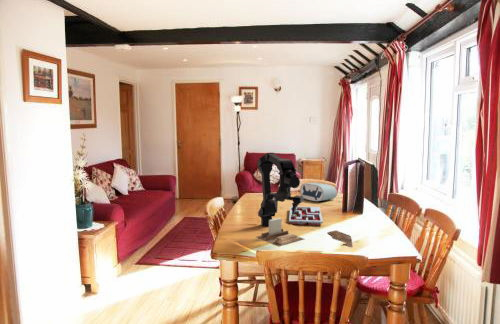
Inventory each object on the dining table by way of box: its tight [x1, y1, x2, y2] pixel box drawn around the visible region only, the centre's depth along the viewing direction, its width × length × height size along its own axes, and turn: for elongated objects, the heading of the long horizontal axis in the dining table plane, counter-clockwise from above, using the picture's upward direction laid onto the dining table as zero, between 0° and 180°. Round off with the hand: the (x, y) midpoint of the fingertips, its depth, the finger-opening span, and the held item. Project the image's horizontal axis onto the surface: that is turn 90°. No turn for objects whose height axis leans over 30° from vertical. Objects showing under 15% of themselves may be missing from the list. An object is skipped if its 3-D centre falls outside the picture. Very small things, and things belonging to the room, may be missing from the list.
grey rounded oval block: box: [299, 182, 338, 202], centre depth 278 cm, size 22×19×13 cm
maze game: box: [288, 205, 324, 226], centre depth 226 cm, size 35×20×3 cm, turn 172°
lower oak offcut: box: [275, 236, 300, 246], centre depth 180 cm, size 5×12×1 cm, turn 127°
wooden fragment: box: [327, 229, 353, 248], centre depth 186 cm, size 26×11×1 cm, turn 1°
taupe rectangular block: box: [268, 217, 282, 235], centre depth 187 cm, size 2×7×9 cm, turn 127°
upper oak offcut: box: [277, 233, 297, 242], centre depth 180 cm, size 4×10×1 cm, turn 127°
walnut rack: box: [256, 228, 305, 248], centre depth 184 cm, size 18×18×3 cm
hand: (284, 213), depth 186 cm, fingers open, 9 cm apart
